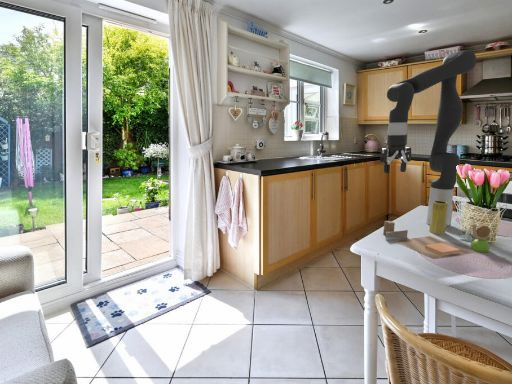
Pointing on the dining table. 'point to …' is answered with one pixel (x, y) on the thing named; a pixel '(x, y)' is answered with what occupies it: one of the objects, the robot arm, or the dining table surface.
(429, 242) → the board
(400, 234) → the wooden stamp block
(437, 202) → the vase
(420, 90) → the robot arm
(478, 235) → the snail figurine
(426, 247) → the tile
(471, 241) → the pacifier
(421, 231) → the dining table surface
